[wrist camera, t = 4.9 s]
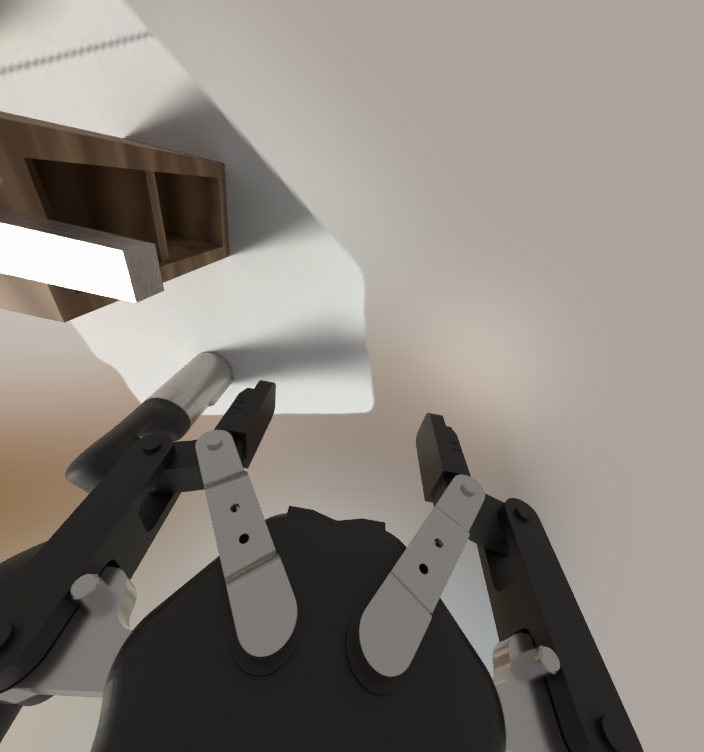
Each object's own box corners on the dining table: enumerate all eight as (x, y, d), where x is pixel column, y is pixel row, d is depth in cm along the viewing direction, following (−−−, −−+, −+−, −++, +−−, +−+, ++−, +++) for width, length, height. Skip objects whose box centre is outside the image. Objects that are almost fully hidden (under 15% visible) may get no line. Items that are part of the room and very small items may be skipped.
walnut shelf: (224, 163, 43) (-29, 112, 16) (229, 256, 51) (64, 322, 24) (122, 138, 42) (-311, 42, 16) (143, 236, 50) (-122, 281, 24)
